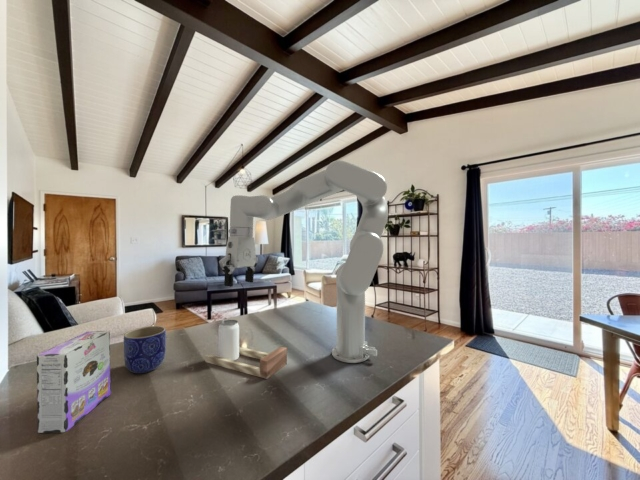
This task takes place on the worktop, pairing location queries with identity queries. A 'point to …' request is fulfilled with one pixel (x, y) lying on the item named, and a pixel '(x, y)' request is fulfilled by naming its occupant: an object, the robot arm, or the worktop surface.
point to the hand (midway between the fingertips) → (239, 283)
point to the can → (228, 340)
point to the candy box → (72, 380)
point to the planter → (144, 348)
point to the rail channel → (267, 366)
